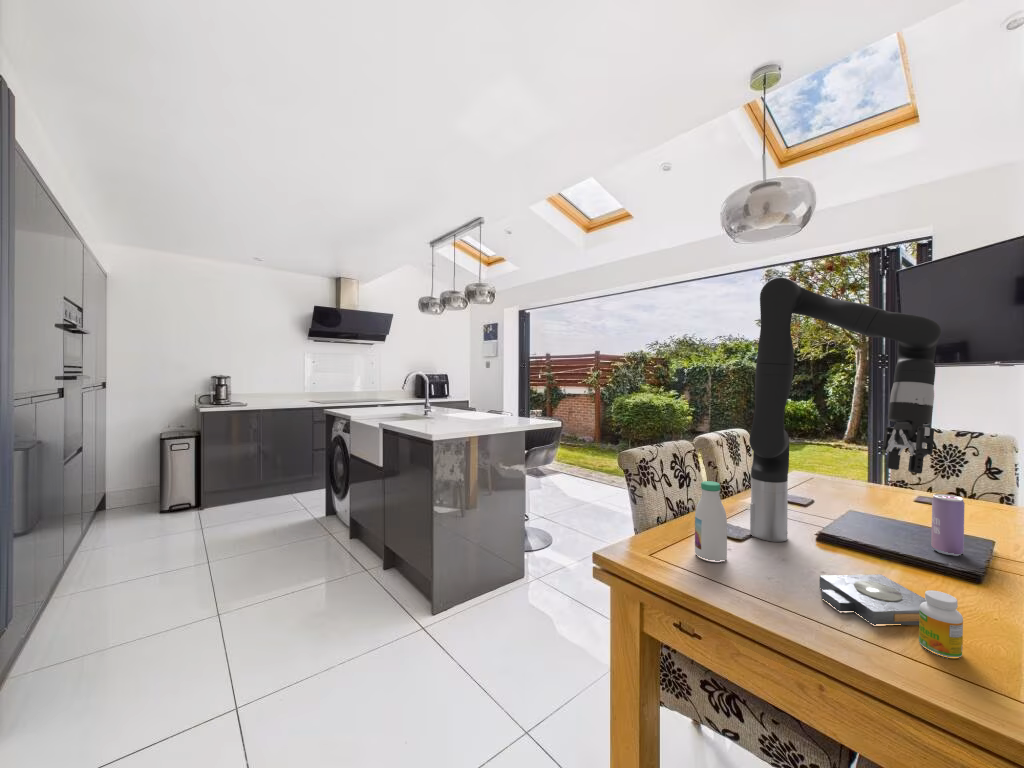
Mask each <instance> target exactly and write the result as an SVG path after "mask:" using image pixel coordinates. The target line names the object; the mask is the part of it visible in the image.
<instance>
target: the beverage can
mask: <svg viewBox="0 0 1024 768" xmlns="http://www.w3.org/2000/svg"><path fill="white" fill-rule="evenodd" d="M930 540H931V541H930V542H931V544H930V545H931V546H932V547H933V548H935V549H938V550H941V551H944V552H948V553H954V554H961V553H963V552H964V551H965V547H964V546H965V544H964V543H965V501H964V498H962V497H961V496H957V495H953V494H947V493H935V494H933V497H932V499H931V539H930ZM931 546H930V547H931ZM932 547H931V548H932ZM963 554H964V553H963Z"/></svg>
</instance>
